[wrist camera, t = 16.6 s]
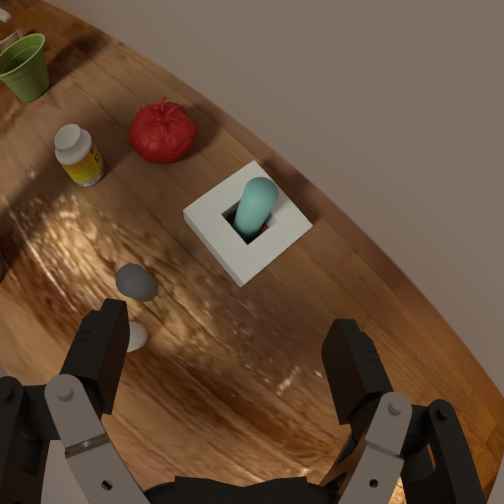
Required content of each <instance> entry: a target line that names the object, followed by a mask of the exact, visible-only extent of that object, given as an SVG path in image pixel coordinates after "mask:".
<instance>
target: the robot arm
mask: <svg viewBox="0 0 504 504" xmlns="http://www.w3.org/2000/svg"><path fill="white" fill-rule="evenodd" d="M3 270H4V256H3V252H2V249H1V247H0V281H1V278H2V275H3ZM129 341H130V325H129V318H128V311H127V304H126V301H122V300H116V299H109V298H106V299H105V301H104V303H103V305H102V307H101V310H100V311H97V310H92V311H91V312H89V313H88V314H87V315H86V316H85V317H84V318H83V320H82V322H81V324H80V326H79V329H78V331H77V333H76V335H75V339H74V340H73V342H72V345H71V347H70V349H69V352H68V354H67V357H66V359H65V362H64V364H63V367H62V369H61V371H60V373H59V375H57V376H55V377H53V378H52V379H51V380H50V381H49V382H48V383H47V384H45V385H35V386H22V385H21V383H20V382H19V381H18V380H17V379H16V378H14V377H10V376H5V377H2V378H0V504H41V493H42V486H43V479H44V472H45V466H46V460H47V454H48V449H49V444H50V440H62V443H63V445H64V447H65V451H66V452H65V457H66V460H67V462H68V464H69V466H70V469H71V471H72V473H73V475H74V477H75V479H76V480H77V482H78V484H79V486H80V488H81V490H82V492H83V493H84V495H85V497H86V499H87V500H88V502H89V504H388V503H389V501H390V498H391V496H392V493H393V491H394V488H395V486H396V483H397V481H398V478H399V475H401V480H402V484H403V489H404V493H405V498H406V503H407V504H486V503H485V499H484V495H483V492H482V488H481V485H480V481H479V478H478V474H477V471H476V468H475V465H474V462H473V459H472V456H471V453H470V450H469V447H468V444H467V441H466V439H465V436H464V433H463V430H462V428H461V425H460V423H459V420H458V417H457V415H456V412H455V410H454V408H453V407H452V405H451V404H450V403H449V402H447V401H445V400H442V399H437V400H434V401H433V402H432V403H431V404H430V405H429V406H428V407H426V406H419V405H413V404H410V402H409V400H408V399H407V398H406V397H405V396H403V395H402V394H400V393H397V392H394V391H393V388H392V386H391V384H390V381H389V379H388V376H387V374H386V371H385V369H384V367H383V364H382V362H381V361H380V357H379V355H378V353H377V350H376V348H375V346H374V343H373V341H372V340H371V339H370V338H369V337H368V336H367V334H366V333H365V332H360V330H359V328H358V326H357V323H356V321H355V320H354V319H335V320H334V321H333V323H332V325H331V327H330V330H329V332H328V334H327V336H326V338H325V340H324V342H323V345H322V350H321V356H322V360H323V364H324V368H325V371H326V375H327V379H328V382H329V386H330V390H331V393H332V397H333V401H334V405H335V408H336V412H337V416H338V420H339V424H340V425H344V424H350V426H351V430H352V431H351V432H350V434H349V436H348V438H347V440H346V442H345V444H344V446H343V447H342V449H341V451H340V453H339V455H338V457H337V459H336V461H335V462H334V464H333V466H332V468H331V469H330V471H329V472H328V473H327V474H326V475H325V476H324V478H323V479H322V480H321V482H320V483H319V485H316V484H312V483H308V482H307V479H306V476H303V477H292V478H279V479H273V480H269V481H266V482H262V483H258V484H254V485H250V486H246V487H239V486H235V485H231V484H226V483H222V482H219V481H215V480H211V479H205V478H191V477H180V476H175V482H167V483H163V484H159V485H156V486H153V487H151V488H149V489H147V490H146V491H144V492H143V490H142V489H141V487H140V486H139V484H138V483H137V482H136V480H135V479H134V477H133V476H132V474H131V473H130V471H129V469H128V468H127V466H126V465H125V463H124V462H123V460H122V458H121V457H120V455H119V453H118V452H117V450H116V448H115V447H114V445H113V443H112V441H111V440H110V438H109V436H108V434H107V432H106V430H105V429H104V427H103V425H102V423H101V417H102V413H104V414H108V415H111V413H112V409H113V404H114V400H115V396H116V392H117V388H118V383H119V379H120V376H121V372H122V368H123V364H124V360H125V357H126V353H127V349H128V346H129ZM429 444H430V447H431V450H432V453H433V457H434V460H435V464H436V468H435V471H434V468H433V465H432V461H431V458H430V454H429V451H428V448H427V445H429Z"/></svg>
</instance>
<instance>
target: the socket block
mask: <svg viewBox="0 0 504 504" xmlns="http://www.w3.org/2000/svg"><path fill="white" fill-rule="evenodd" d="M255 177H265V178H268V179H270V180H271V181H273V180H272V179H271V178H270V177H269V176H268V174H267V173H266V172H265V171H264V170H263V169H262V168H261V167H260V166H259V165H258V164H257V163H256V162H255V160H254V161H252V162H251V163H249V164H248V165H246V166H245V167H243V168H242V169H240V170H239V171H237V172H236V173H234V174H233V175H231V176H230V177H229V178H227V179H226V180H224V181H223V182H221V183H220V184H218V185H217V186H216V187H214V188H213V189H211V190H210V191H208V192H207V193H206V194H204V195H203V196H201V197H200V198H199V199H197V200H196V201H195V202H193V203H192V204H190V205H189V206H188V207H186V208H185V209H184V210H183V214H184V220H185V221H186V223H187V224H188V225H189V226H190V228H191V229H192V230H193V231H194V233H195V234H196V235H197V236H198V237H199V239H200V240H201V241H202V242H203V244H204V245H205V246H206V247H207V248H208V250H209V251H210V252H211V253H212V254H213V256H214V257H215V258H216V259H217V261H218V262H219V263H220V264H221V265H222V267H223V268H224V269H225V270H226V271H227V273H228V274H229V275H230V276H231V277H232V278H233V280H234V281H235V282H236V283H237V284H238V286H239V287H240V288H241V287H242V286H243V285H244V284H245V283H247V282H248V281H249V280H250V279H251V278H253V277H254V276H255V275H256V274H257V273H259V272H260V271H261V270H262V269H263V268H264V267H266V266H267V265H268V264H269V263H270V262H271V261H273V260H274V259H275V258H276V257H277V256H279V255H280V254H281V253H282V252H283V251H284V250H286V249H287V248H288V247H289V246H290V245H291V244H293V243H294V242H295V241H296V240H297V239H298V238H300V237H301V236H302V235H303V234H304V233H305V232H306V231H308V230H309V229H310V228H311V227H312V226H313V225H312V224H311V223H310V222H309V221H308V219H307V218H306V217H305V216H304V215H303V214H302V212H301V211H300V210H299V209H298V208H297V207H296V206H295V205H294V203H293V202H292V201H291V200H290V199H289V198H288V197H287V195H286V194H285V193H284V192H283V191H282V190H281V189H280V188H279V187H278V185H277V184H276V183H275V182H274V181H273V182H274V183H275V185H276V186H277V188H278V191H279V197H278V200H277V202H276V203H275V205H274V207H273V208H272V210H271V211H270V213H269V215H268V216H267V218H266V219H265V221H264V222H265V224H266V225H267V226H268V227H269V229H267V230H266V231H265V232H264V233H262V234H261V235H260V236H259V237H257V238H256V239H255V240H254V241H252V242H251V243H250V244H249V245H247V244H246V243H245V242H244V241H243V240H242V238H241V237H240V236H239V235H238V234H237V233H236V231H235V230H234V229H233V228H232V227H231V226H230V224H229V223H228V222H227V221H226V220H225V219H226V218H227V217H229V216H230V215H231V214H233V213H234V212H235V211H237V210H238V206H239V203H240V200H241V197H242V194H243V191H244V188H245V186H246V184H247V182H248V181H249V180H251V179H252V178H255Z"/></svg>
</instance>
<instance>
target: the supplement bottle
mask: <svg viewBox="0 0 504 504" xmlns="http://www.w3.org/2000/svg"><path fill="white" fill-rule="evenodd" d="M54 144H55V146H56V149H55V155H56V158H57V160H58V161H59V162H60V164H61V165H62V166H63V168H64V169H65V170H66V171H67V173H68V174H69V175H70V177H71V178H72V179H73V180H74V182H75V183H76V184H78V185H79V186H83V187H87V186H91V185H93V184H95V183H96V182H98V181H99V180H100V178H101V177H102V175H103V173H104V169H105V165H104V161H103V159H102V157H101V155H100V153H99V151H98V149H97V147H96V145H95V143H94V141H93V139H92V137H91V136H90V134H89V133H88V132H87V131H86V130H84V129H80V127H79V126H78V125H76V124H68V125H66V126H64V127H62V128H61V129H60V130H59V131H58V132H57V134H56V136H55V138H54Z"/></svg>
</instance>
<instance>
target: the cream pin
mask: <svg viewBox="0 0 504 504" xmlns="http://www.w3.org/2000/svg"><path fill="white" fill-rule="evenodd" d="M129 325H130V341H129V346H128V349H127V352H131V351H133V350H136V349H138V348H141V347H142V346H144V345H145V344H146V342H147V339H148V332H147V330H146V328H145V326H144V325H143V324H141V323H139V322H134V321H129Z"/></svg>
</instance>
